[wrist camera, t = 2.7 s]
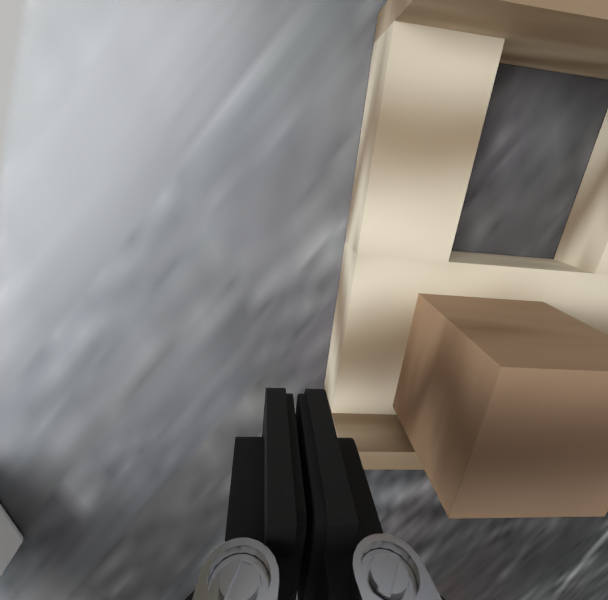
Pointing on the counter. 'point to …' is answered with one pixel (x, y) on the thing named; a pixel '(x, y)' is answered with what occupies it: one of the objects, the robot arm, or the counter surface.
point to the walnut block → (507, 407)
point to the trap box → (450, 194)
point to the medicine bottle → (8, 539)
